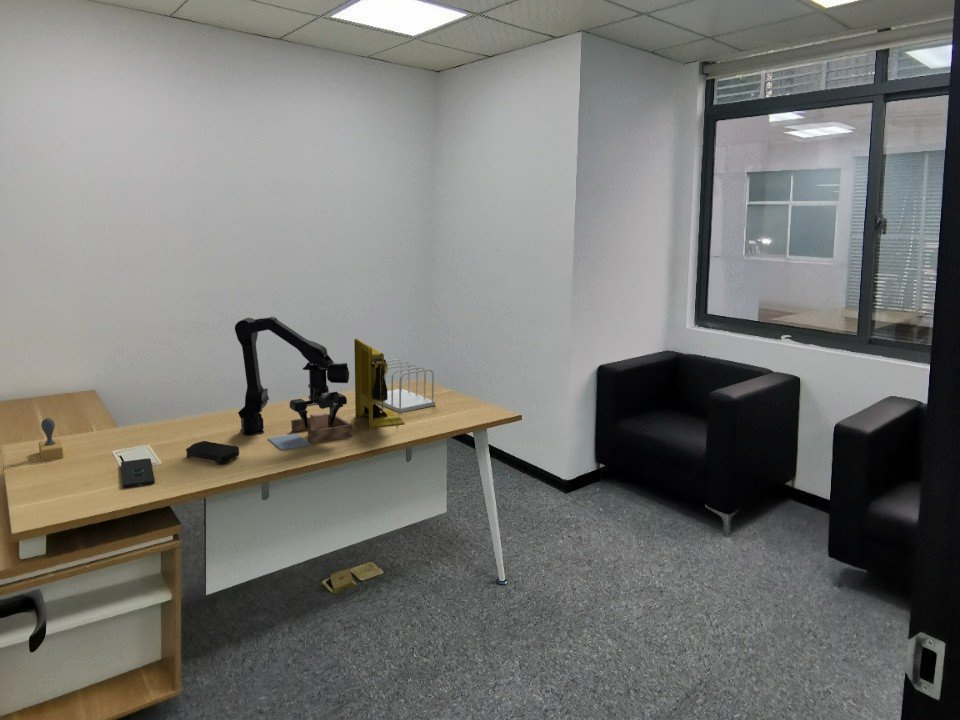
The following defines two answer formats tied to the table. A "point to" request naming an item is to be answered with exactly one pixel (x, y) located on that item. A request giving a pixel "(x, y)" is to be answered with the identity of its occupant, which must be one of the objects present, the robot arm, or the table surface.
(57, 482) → the table surface
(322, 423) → the terracotta block
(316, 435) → the brown open boxy piece
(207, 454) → the black sponge
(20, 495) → the table surface
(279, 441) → the slate mat
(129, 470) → the smart home device
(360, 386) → the vintage telephone
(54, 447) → the rubber stamp
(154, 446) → the table surface
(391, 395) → the file sorter
